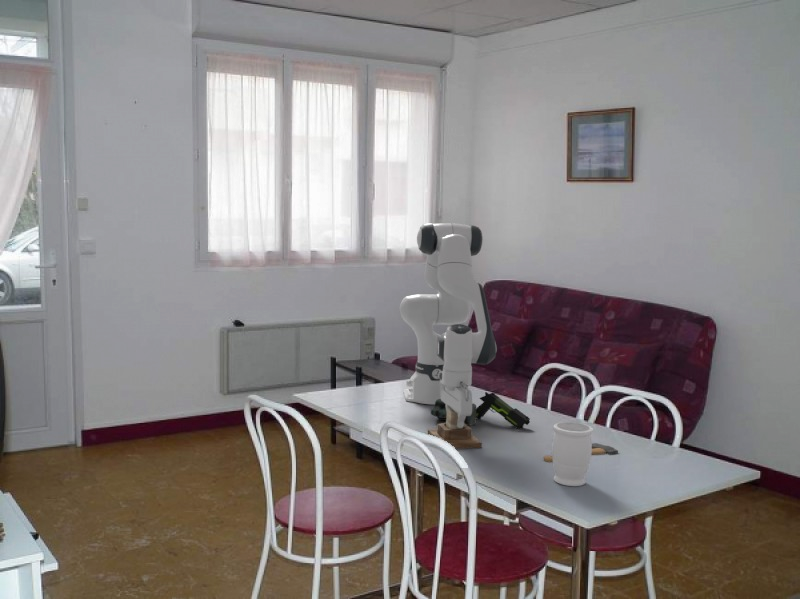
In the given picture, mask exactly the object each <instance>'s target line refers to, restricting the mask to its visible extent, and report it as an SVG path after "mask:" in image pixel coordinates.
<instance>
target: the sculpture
mask: <svg viewBox="0 0 800 599" xmlns="http://www.w3.org/2000/svg"><path fill="white" fill-rule="evenodd" d="M445 406H446V404H445V403H444V402H443V401H441V399H438V400H436V402H435V404H433V407H432V408H431V409H430V415H431V416H433V417H437V419H438V420H440V421H443V420H445V421H446V417H447V412H446V407H445ZM476 408H477V404H475V403H472V414H471V416H466V418H465V420H464V423H465V424H466V425H467V426H473V425H475V424H476V421H477V420H476V419H477V418H476Z"/></svg>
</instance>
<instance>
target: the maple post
mask: <svg viewBox="0 0 800 599" xmlns="http://www.w3.org/2000/svg"><path fill="white" fill-rule="evenodd" d="M457 421H458V413H456V412H455V411H454V410H453V409H452V408H450V407H449V406H447V417H446V419H445V423H446V427H447V428H448V429H463V428H458V427H457V426H456V424H457Z"/></svg>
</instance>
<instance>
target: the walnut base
mask: <svg viewBox="0 0 800 599" xmlns="http://www.w3.org/2000/svg"><path fill="white" fill-rule="evenodd" d="M472 431H473V429H472V428H471V427H470V425H466V424H465V423H464V426H463V429H448V428H447V427H446V422H441V423H437V428H433V429H432V428H429V429H427V435H428V434H430V435H433V436H436V437H438V438H441V439H442V440H444V441H447V442H448V443H450V444H451V445H452V446H454V447H455V448H456V449H455V450H458V449H459V450H460V449H480V448H482V447H483V446H482V442H481V441H480V440H479V439H478V438H477V437H475V436H474V435H473V434H472V433H473V432H472Z"/></svg>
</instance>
